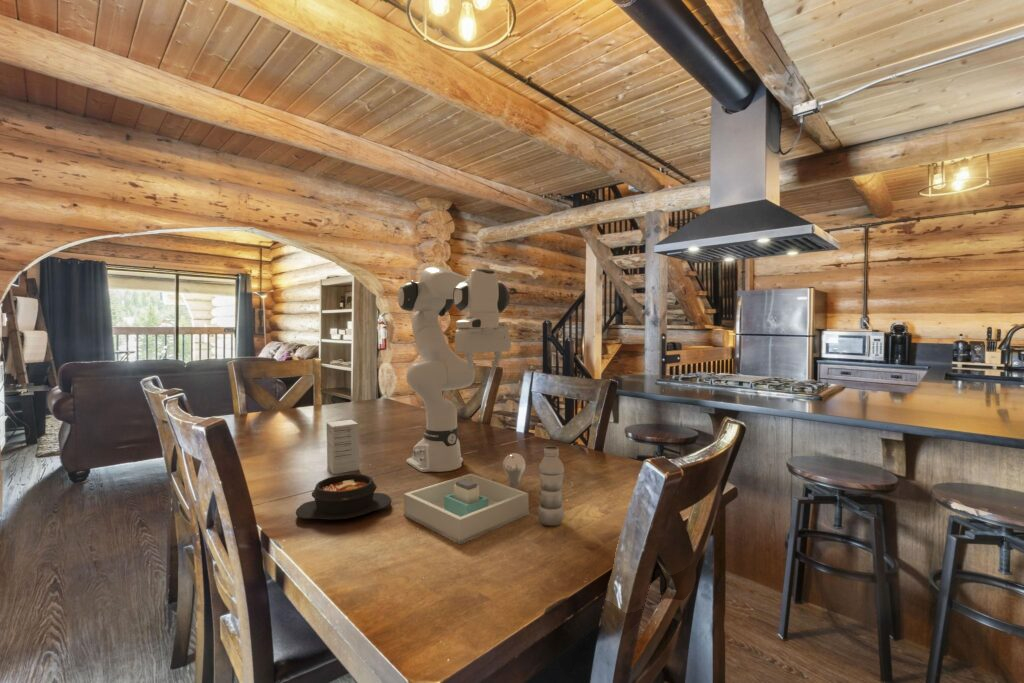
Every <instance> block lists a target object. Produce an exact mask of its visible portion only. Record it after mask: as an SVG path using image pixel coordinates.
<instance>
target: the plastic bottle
mask: <svg viewBox="0 0 1024 683" xmlns="http://www.w3.org/2000/svg"><path fill="white" fill-rule="evenodd" d="M543 456H544V457H543V458H542V460H541V462H540V463H539V466H538V473H539V482H540V496H539V497H540V498H539V505H538V511H537V515H538V517H537V518H538V520H539V522H540V524H542V525H544V526H548V527H551V526H552V527H553V526H554V527H555V526H559V525H560V524H561V523H562V522H563V520H564V515H565V514H564V507H563V498H562V497H563V496H562V488H563V480H564V472H565V467H564V464H563V462H562V461H561V459H560V458H559V457H558V456H560V453H559V447H557V446H554V445H553V446H552V445H548V446H544V448H543Z"/></svg>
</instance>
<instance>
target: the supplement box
mask: <svg viewBox="0 0 1024 683" xmlns="http://www.w3.org/2000/svg"><path fill="white" fill-rule="evenodd" d="M359 432H360V430H359V423H358V422H356V421H355V420H353V419H347V420H339V421H338V420H336V421H329V422H326V458H327V460H326V461H327V463H326V468H327V470H328V471H329V472H331V473H332V475H337V474H342V473H343V474H344V473H348V472H354V471H360V441H359V440H360V439H359V436H360V434H359Z"/></svg>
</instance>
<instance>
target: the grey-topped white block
mask: <svg viewBox="0 0 1024 683" xmlns="http://www.w3.org/2000/svg"><path fill="white" fill-rule="evenodd" d="M454 499H456V500H459V501H461V502H463V503H466V504H469V503H472V502H475V501H477V500H479V487H478V486H477V483H475V482H472V481H469V480H466V479H463V480H460V481H457V482H456V485H454Z"/></svg>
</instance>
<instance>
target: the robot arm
mask: <svg viewBox="0 0 1024 683" xmlns="http://www.w3.org/2000/svg"><path fill="white" fill-rule="evenodd" d="M498 281H499V280H498V274H497V272H496V271H495V270H493V269H489V268H487V269H485V268H473V269H471V271H470V273H469V276H468V277H467V276H464V275H463V274H460V273H458V272H455V271H453V270H450V269H448V268H446V267H443V266H434V265H433V266H428V267H427V268H425V269H424V270H422V272H421V274H420V280H419V281H414V280H413V279H412V280H411V281H409V282H406V283H405V284H404V283H403V285H402V286H400V287H399V289H398V293H397V301H398V306H399V307H400V308H401V310H403V311H407V312H416V313H414V315H413V316H412V318H411V328H412V334H413V338H414V339H413V340H414V342H415V345H416V348H417V352H418V354H419V356H420V357H421V359H423V360H425V361H420V362H415V363H413V364H411V365H410V366H409V367H408V369H407V371H406V375H405V377H406V382H407V385H408V387H409V388H410V389H411V390H412V391H414V392H415V393H416V394H417V395H419V397H420V398H421V400H422V402H423V405H424V408H425V415H426V416H425V418H426V428H423V429H422V430H423V431H422V433H424V434H423V437H422V439H421V440H419V441H418V442H417V443H416V444H415V445H414V446H413V448H412V449H413V450H412V456H411V457H409V458H407V459H406V463H407V464H409V465H410V466H411V467H413V468H414V469H416V470H418V471H419V472H423V473H425V472H426V473H427V472H438V473H441V472H450V471H454V470H457V469H460V468H461V467H462V465H463V464H462V463H463V462H464V458H463V457H462V455H461V452H462V451H461V444H460V440H459V433H460V432H459V427H458V409H457V406H456V405H455V403H453V401H451V400H449V399H446V398H445V397H444V395H443V391H451V390H461V389H464V388H468V387H470V386H471V385H472V384H473V383H474V381H475V378H476V371H475V369H476V368H477V362H474V354H487V353H488V354H489V353H493V356H494V359H493V360H491V367H492V368H497V367H499V366H500V360H501V358H502V356H503V352H504V353H505V352H510V350H511V349H512V346H511V345H512V344H511V334H510V327H509V326H508V324H507V323H506V322H504V321H503V322H500V320H499V314H501V313H503V312H504V311H505V310H506V308H507V307H508V306H509V304H510V300H511V299H510V298H511V296H510V292H509V290H508V288H507V286H506V285H505V284H503V283H502V282H498ZM453 305H454V306H455V307H456V309H458V311H460V312H461V311H462V312H466V313H467V312H468V313H469V316H465V317H463V318H462V319H459V320H456V322H455V328H457V329H456V331H455V333H454V351H453V350H452V348H451V347H450V346H449V345H448V341H447V340H446V338H445V335H444V332H443V330H442V327H441V325H440V322H439V317H444V316H445V315H446V313H448V312H449V311H450V310H451V309H452V307H453ZM458 354H459V355H464V357H465V359H463V358H462V357H460V356H459V355H458Z"/></svg>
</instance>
